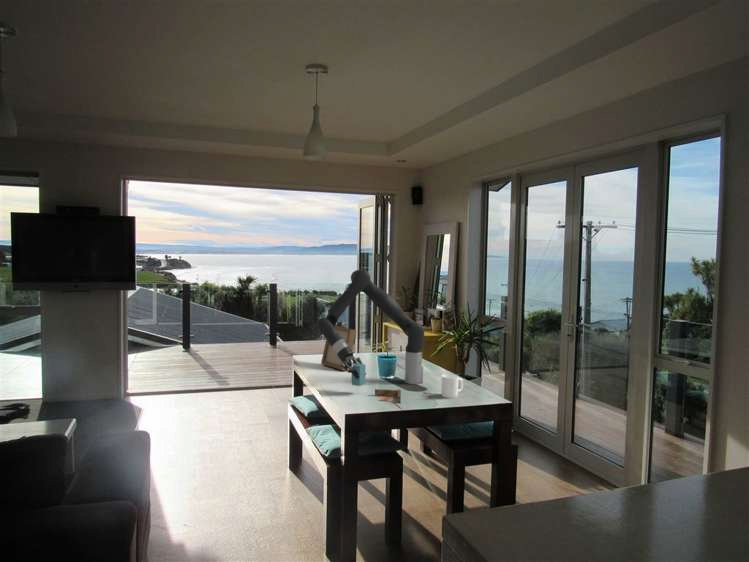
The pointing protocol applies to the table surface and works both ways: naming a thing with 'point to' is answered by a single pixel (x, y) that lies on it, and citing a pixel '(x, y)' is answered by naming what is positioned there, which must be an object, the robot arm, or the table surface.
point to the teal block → (361, 371)
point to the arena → (388, 394)
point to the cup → (450, 386)
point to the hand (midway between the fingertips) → (361, 376)
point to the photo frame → (329, 354)
